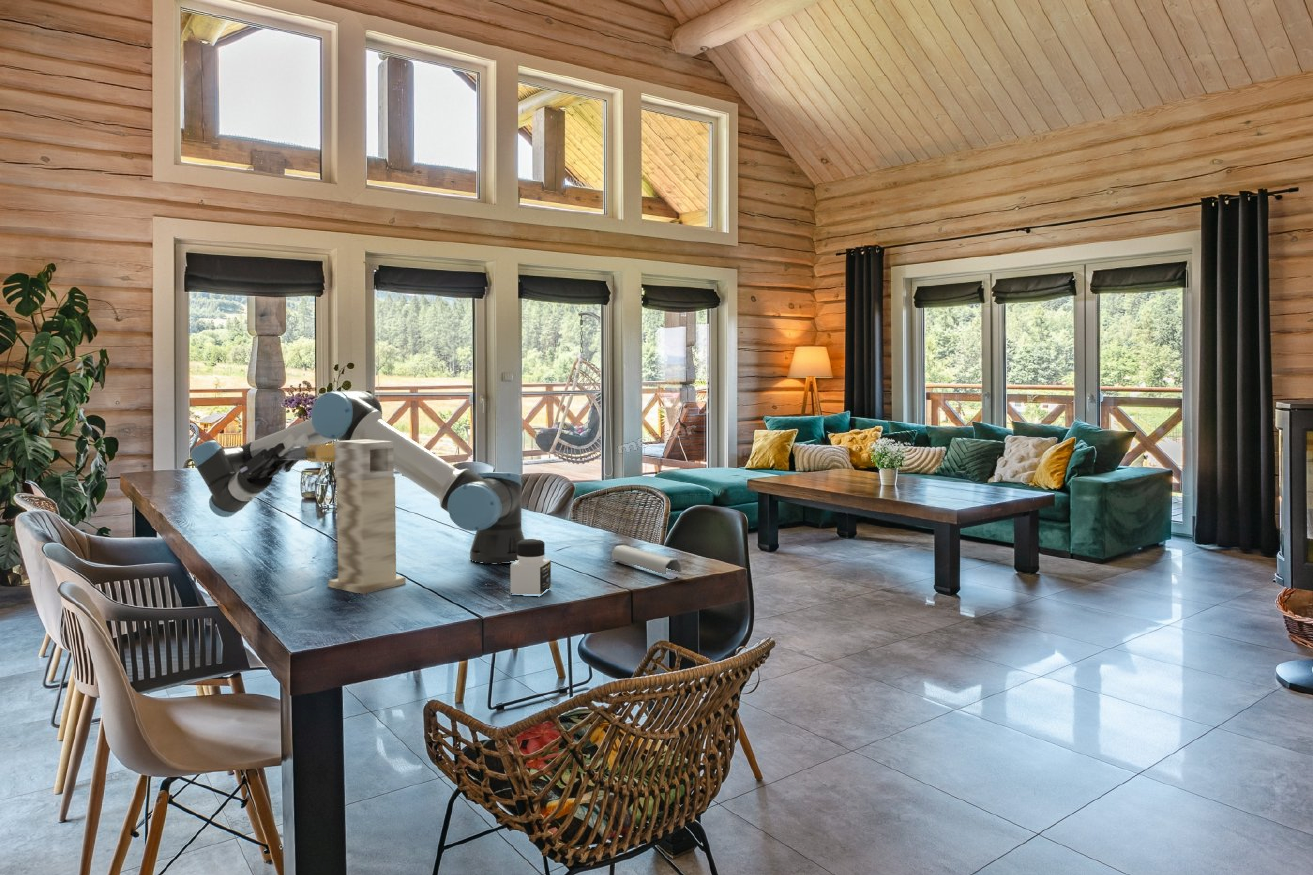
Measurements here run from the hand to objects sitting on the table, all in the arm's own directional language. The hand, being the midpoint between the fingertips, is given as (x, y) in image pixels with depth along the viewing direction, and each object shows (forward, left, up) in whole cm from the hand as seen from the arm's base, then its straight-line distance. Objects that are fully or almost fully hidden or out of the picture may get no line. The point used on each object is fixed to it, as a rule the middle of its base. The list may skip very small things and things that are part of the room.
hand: (299, 438), depth 213 cm
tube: (-83, -10, -33) cm, 90 cm away
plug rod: (-2, +1, -6) cm, 6 cm away
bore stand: (-20, +12, -33) cm, 40 cm away
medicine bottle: (-59, +16, -33) cm, 69 cm away
